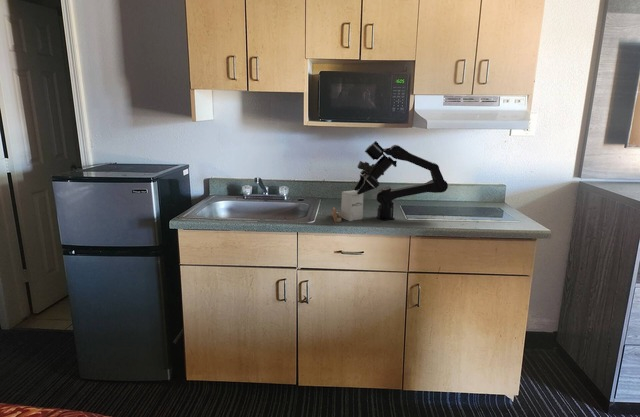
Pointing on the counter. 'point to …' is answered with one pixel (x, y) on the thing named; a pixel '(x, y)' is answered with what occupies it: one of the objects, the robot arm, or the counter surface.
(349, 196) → the supplement box
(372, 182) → the robot arm
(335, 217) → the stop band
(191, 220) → the counter surface
